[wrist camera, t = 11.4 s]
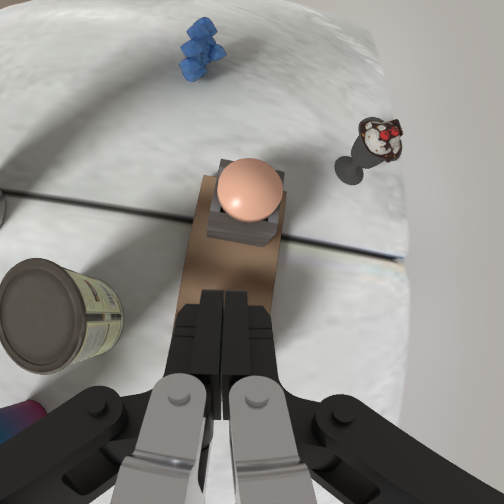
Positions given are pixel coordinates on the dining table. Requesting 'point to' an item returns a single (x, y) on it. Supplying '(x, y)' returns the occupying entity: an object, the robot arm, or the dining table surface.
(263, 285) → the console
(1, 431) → the cup
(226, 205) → the button
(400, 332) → the dining table surface
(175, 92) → the dining table surface
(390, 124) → the sundae
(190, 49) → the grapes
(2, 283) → the coffee can
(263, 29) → the dining table surface
